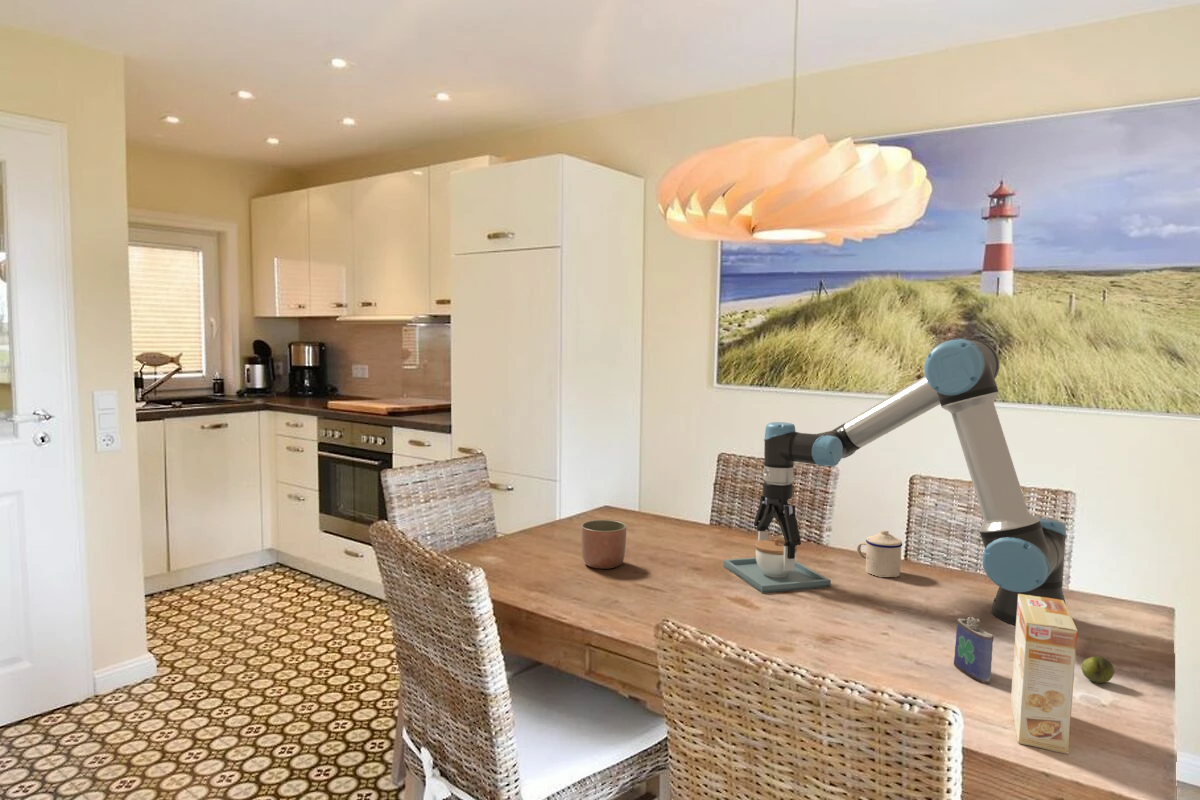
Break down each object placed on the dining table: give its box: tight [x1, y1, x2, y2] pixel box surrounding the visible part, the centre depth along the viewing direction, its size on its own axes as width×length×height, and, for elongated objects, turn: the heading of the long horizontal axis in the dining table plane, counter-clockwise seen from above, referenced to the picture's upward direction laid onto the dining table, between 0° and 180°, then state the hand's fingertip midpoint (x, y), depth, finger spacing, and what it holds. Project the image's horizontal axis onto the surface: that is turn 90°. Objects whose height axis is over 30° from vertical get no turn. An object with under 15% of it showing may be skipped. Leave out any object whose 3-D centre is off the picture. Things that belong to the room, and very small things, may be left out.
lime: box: [1080, 656, 1115, 684], centre depth 137 cm, size 4×5×5 cm
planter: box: [580, 519, 627, 570], centre depth 204 cm, size 12×12×11 cm
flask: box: [953, 616, 994, 685], centre depth 140 cm, size 9×3×11 cm, turn 8°
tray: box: [722, 556, 831, 594], centre depth 196 cm, size 22×19×2 cm
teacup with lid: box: [856, 529, 903, 578], centre depth 200 cm, size 12×9×12 cm
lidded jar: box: [754, 538, 798, 578], centre depth 195 cm, size 11×11×9 cm
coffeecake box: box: [1010, 594, 1078, 755], centre depth 120 cm, size 15×7×20 cm, turn 155°
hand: (775, 562), depth 196 cm, fingers open, 13 cm apart
